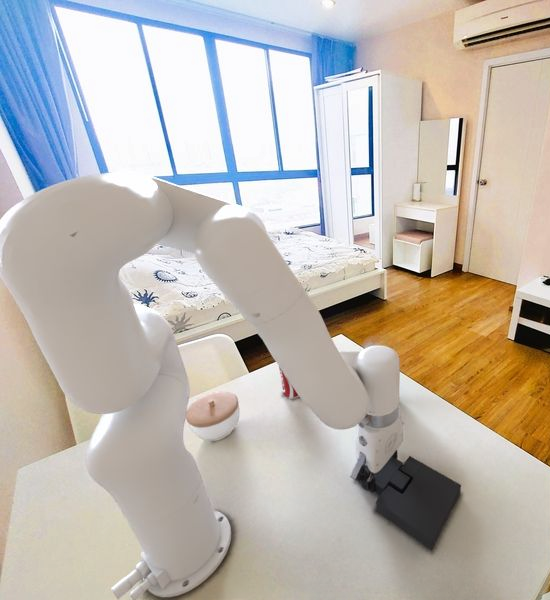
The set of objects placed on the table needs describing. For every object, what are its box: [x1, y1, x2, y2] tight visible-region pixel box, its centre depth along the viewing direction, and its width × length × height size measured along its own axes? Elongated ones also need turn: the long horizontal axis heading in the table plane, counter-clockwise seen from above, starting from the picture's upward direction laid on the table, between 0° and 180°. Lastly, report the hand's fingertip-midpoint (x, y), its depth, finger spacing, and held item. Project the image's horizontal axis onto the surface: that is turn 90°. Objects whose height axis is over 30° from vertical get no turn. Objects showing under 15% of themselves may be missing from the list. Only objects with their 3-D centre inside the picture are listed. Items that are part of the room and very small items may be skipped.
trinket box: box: [185, 390, 241, 442], centre depth 76 cm, size 11×11×9 cm
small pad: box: [357, 456, 410, 497], centre depth 66 cm, size 7×10×3 cm
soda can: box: [278, 366, 300, 400], centre depth 88 cm, size 5×5×12 cm
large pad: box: [375, 455, 462, 551], centre depth 62 cm, size 12×12×3 cm
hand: (379, 473), depth 67 cm, fingers closed on small pad, 7 cm apart
